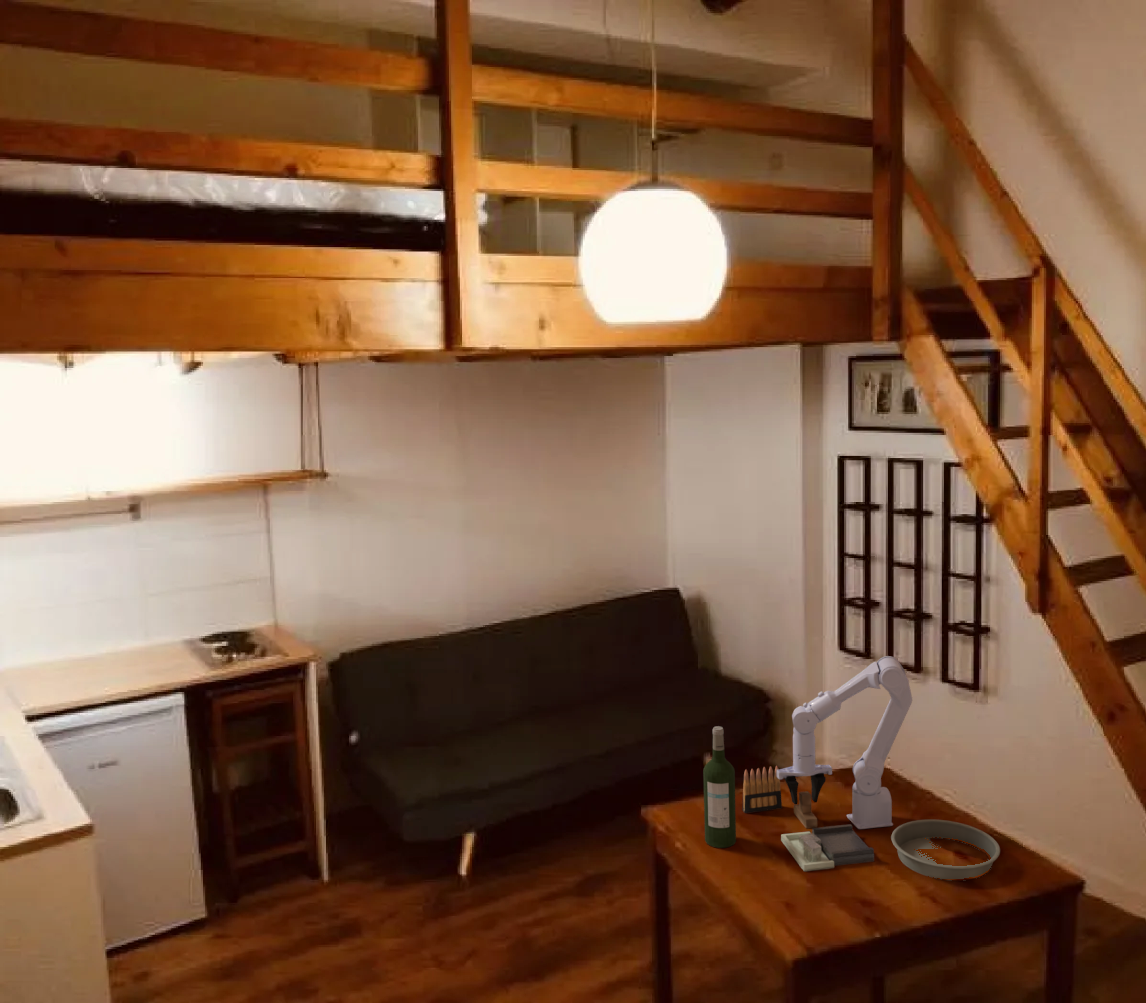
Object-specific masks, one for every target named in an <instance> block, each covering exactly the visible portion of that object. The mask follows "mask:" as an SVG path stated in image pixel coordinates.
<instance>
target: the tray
mask: <svg viewBox="0 0 1146 1003" xmlns="http://www.w3.org/2000/svg"><path fill="white" fill-rule="evenodd" d="M811 833H812V832H810V831H802V832H801V831H800V832H792V833H783V834H780V841H781V842H782V844H783V845H784V846H785V847H786V849H787V851H788V852H789V853H790V854H791V855H792V857H793V858H794V860H795V862H796V863H797V864H798V865H799V867H800V868H801V869H802V870H803V872H811V871H821V870H829V869H835V866H834V861H833V860H830V861H829V859H828V858H827V857H826V856H825V854H824V853H823V852H822V851H821V862H812V863H810V862H809V861H808V860H807V859H806V858H804V850H803V849H802V848H801V847H800V846H799V836H800V835H806V834H811Z"/></svg>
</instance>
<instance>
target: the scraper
mask: <svg viewBox="0 0 1146 1003" xmlns="http://www.w3.org/2000/svg"><path fill="white" fill-rule="evenodd" d="M798 803H799V804H798ZM798 803H797V804H793V814H794V815H795V817H796V818H797V819H798V821H799V822H800V823H801V824H802V825H803V826H804V828H806V829H812V828H818V818H817V817H816V816H815V814H814V813H813V812H812V793H810V792H809V791H799V792H798Z"/></svg>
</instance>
